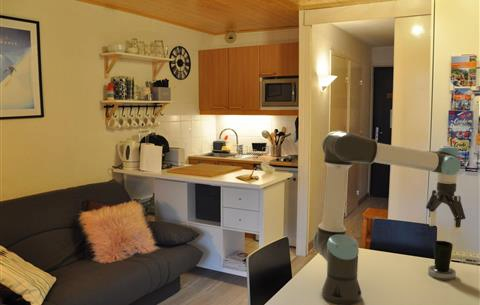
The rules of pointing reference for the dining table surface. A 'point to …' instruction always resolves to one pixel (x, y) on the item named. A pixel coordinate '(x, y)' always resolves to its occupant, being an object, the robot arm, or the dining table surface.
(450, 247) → the cup
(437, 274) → the grey metal bowl
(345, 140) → the robot arm
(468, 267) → the dining table surface
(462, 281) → the dining table surface
